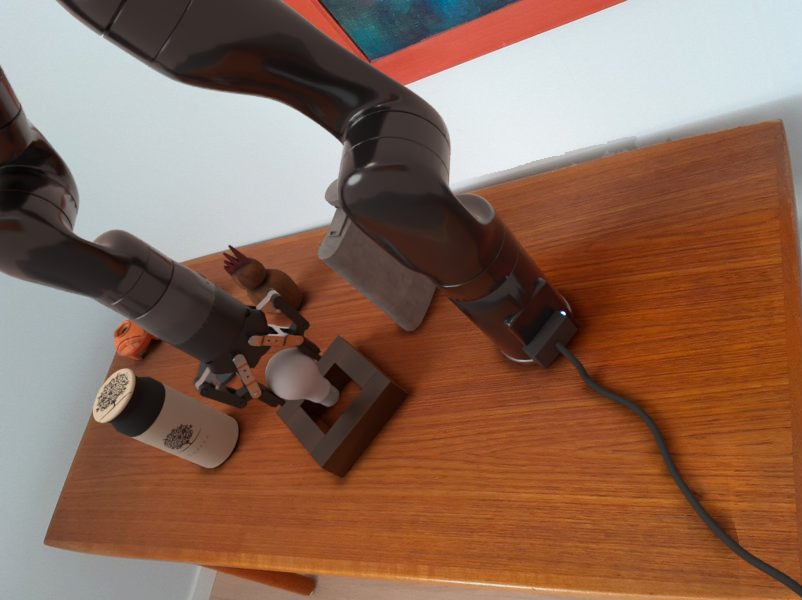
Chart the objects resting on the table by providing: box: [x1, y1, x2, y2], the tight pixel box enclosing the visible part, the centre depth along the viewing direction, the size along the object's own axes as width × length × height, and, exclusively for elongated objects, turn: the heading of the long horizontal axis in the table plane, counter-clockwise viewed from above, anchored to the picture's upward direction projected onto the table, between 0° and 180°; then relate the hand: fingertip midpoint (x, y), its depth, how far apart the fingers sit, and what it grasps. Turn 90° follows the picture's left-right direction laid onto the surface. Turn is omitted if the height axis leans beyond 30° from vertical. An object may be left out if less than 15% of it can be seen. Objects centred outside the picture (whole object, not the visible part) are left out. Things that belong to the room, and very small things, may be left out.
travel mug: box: [92, 367, 239, 469], centre depth 91 cm, size 8×8×18 cm
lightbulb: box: [264, 347, 340, 408], centre depth 80 cm, size 6×6×11 cm
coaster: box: [198, 361, 237, 385], centre depth 107 cm, size 10×10×1 cm
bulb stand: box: [275, 334, 410, 479], centre depth 85 cm, size 13×13×4 cm
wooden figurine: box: [222, 244, 303, 317], centre depth 99 cm, size 7×6×15 cm
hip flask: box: [317, 178, 437, 332], centre depth 83 cm, size 16×4×20 cm, turn 164°
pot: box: [113, 319, 160, 361], centre depth 119 cm, size 8×8×7 cm
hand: (299, 378), depth 79 cm, fingers closed on lightbulb, 6 cm apart
